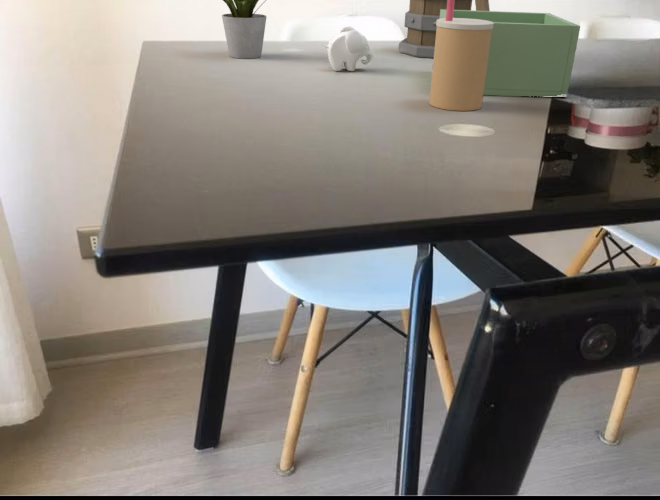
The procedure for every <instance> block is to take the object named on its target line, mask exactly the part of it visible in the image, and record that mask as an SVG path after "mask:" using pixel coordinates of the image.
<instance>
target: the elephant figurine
mask: <svg viewBox="0 0 660 500" xmlns="http://www.w3.org/2000/svg"><path fill="white" fill-rule="evenodd" d="M320 45H321V46H323V47H325V48H326V49H327V51H326V53H327V58H328V61H329V65H330V67H331V68H332V70H333V71H334V72H340V71H341V72H342V70H343V68H345V69H346V70H347V71H348V72H354V71H355V70H356V66H357V63H358V60H359V59H360V58H361V57H365V58H366V59H361V60H360V62H361V63H362V65H368V64H369V63H370V62H371V61H372V58H375V57H374V56H373V52H372V50H371V48H370V45H369V41H368V39H367V38H366V36H365V35H364V34H362V32H359V31H358V30H356V29H355V27H352V26H351V25H347V26H344V27H342V28H341V30H340V32H338V33H336V34H334V35H333V36H332V37H331V38H330V39H329V42H328V44H326V45H325V44H323V43H322V42H321V43H320ZM343 66H344V67H343Z"/></svg>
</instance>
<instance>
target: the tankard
mask: <svg viewBox="0 0 660 500" xmlns="http://www.w3.org/2000/svg"><path fill="white" fill-rule="evenodd" d="M474 3H475V11H491V10H490V1H489V0H474ZM472 5H473V0H455V3H454V10H472V7H473V6H472ZM408 8H409V9H408V11H406V12H405V15H404V28H407V32H406V33H407V35H406V37H405V38H403V39H402V40H401V41H400V42H399V43H398V52H399V53H400V54H404V55H408V56H411V57H416V58H426V59H434V50H435V40H436V30H437V26H436V20H437V19H439V18H440V9H445V10H447V0H409V7H408Z"/></svg>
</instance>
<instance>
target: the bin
mask: <svg viewBox="0 0 660 500" xmlns="http://www.w3.org/2000/svg"><path fill="white" fill-rule="evenodd" d="M442 18H446V10H445V9H440V18H439V19H442ZM453 18H468V19H480V20H487V21H491V22H493V23H494V25H493V29H492V33H491V40H490V48H489V55H488V63H487V70H486V78H485V85H484V93H483V96H496V97H497V96H499V97H500V96H501V97H502V96H503V97H521V96H529V97H528V98H535V97H534V96H537V97H536V98H542V97H541V96H557V95H561V94H567V95H568V92H569V88H570V82H571V77H572V72H573V67H574V61H575V57H576V51H577V46H578V40H579V36H580V31H581V25H580V24H577V23H575V22H571V21H569V20H567V19H564V18H562V17H561V16H557V15H555V14H552V13H550V12H530V11H529V12H528V11H499V10H497V11H496V10H490V11H476V10H473V9H471V10H454V12H453ZM531 96H533V97H531ZM538 96H540V97H538Z"/></svg>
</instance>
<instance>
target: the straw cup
mask: <svg viewBox="0 0 660 500" xmlns="http://www.w3.org/2000/svg"><path fill="white" fill-rule="evenodd" d="M454 3H455V0H447V10H446V18H442V19H437V20H436V26H437V30H436V40H435V50H434V58H433V61H432V71H431V83H430V94H429V102H428V103H429V105H430V106H431V107H434V108H437V109H441V110H446V111H455V112H468V111H469V112H470V111H471V112H472V111H476V110H479V109H481V108H482V106H483V99H484V95H483V93H484V85H485V78H486V70H487V63H488V55H489V48H490V40H491V33H492V29H493V25H494V23H493V22H491V21H487V20H480V19H468V18H453V12H454Z"/></svg>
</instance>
